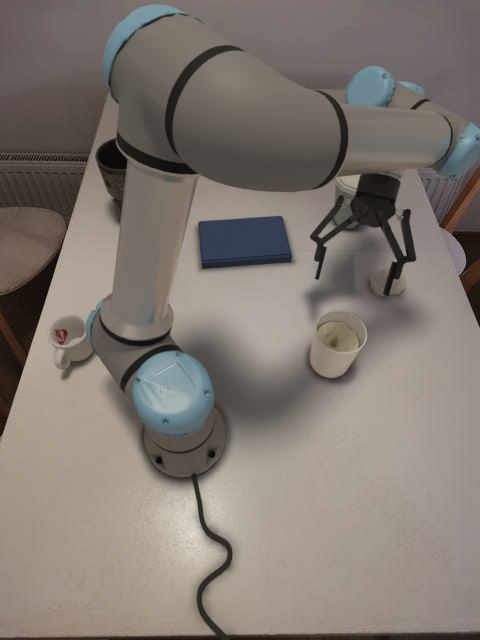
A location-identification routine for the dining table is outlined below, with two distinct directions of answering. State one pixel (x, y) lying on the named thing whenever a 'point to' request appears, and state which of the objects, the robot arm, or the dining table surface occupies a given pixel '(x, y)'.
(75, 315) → the cup
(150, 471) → the dining table surface
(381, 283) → the pebble
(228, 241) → the blue book
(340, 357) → the candle holder
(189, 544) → the dining table surface
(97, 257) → the dining table surface
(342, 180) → the disposable coffee cup
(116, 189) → the planter
